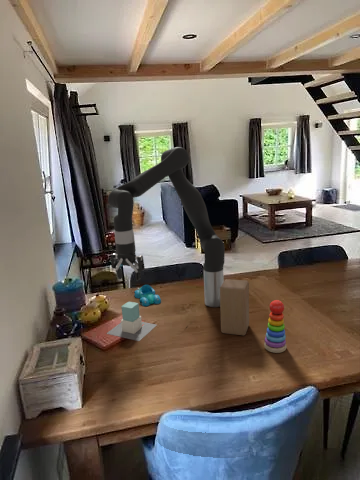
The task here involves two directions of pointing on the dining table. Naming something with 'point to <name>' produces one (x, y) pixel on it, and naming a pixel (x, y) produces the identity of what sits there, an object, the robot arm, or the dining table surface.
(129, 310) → the teal brick
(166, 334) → the dining table surface
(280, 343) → the stacking toy
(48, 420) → the dining table surface
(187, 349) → the dining table surface
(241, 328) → the block
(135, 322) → the cream brick
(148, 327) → the board
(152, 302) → the toy car
